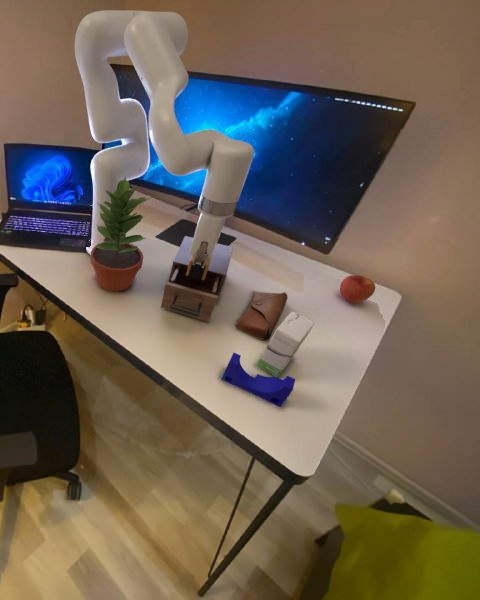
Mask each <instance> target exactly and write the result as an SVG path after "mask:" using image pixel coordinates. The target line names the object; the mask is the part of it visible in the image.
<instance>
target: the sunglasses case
mask: <svg viewBox="0 0 480 600" xmlns="http://www.w3.org/2000/svg"><path fill="white" fill-rule="evenodd" d="M287 300H288V294H287V292H286V291H285V292H280V293H279V292H257V291H254V292H253V294H252V297H251V299H250V301H249V302H248V305H247V306H246V308H245V309H244V311H243V313H242V314H241V316H240V317H239V318H238V319H237V321H236V323H235V324H234V326H235V327H236V328H237V330H240V331H242V332H243V333H245V334H247V335H249V336H251V337H253V338H255V339H257V340H259V341H261V342H263V341H264V342H265V341H266V342H267V341H270V340H271V338H272V336H273V334H274V332H275V331H274V330H276V327H277V325H278V322H279V320H280V317H281V315H282V313H283V311H284V310H285V309H284V308H285V306H286V303H287Z"/></svg>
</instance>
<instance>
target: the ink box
mask: <svg viewBox="0 0 480 600" xmlns="http://www.w3.org/2000/svg"><path fill="white" fill-rule="evenodd" d="M315 324H316V322H315V321H313V320H310V319H309V318H307V317H305V316H303V315H301V314H299V313H297V312H296V311H291V312H290V313H289V314H288V315H287V316H286V318H285V319H284V320H283V321H282V322H281V323H280V325H278V327H277V328H276V329H275V331H274V332H273V334H272V335H271V337H270V339H269V341H268V344H267V345H266V347H265V349H264V351H263V353H262V355H261V356H260V358H259V360H258V362H257V364H256V366H257V368H260V369H261V370H263V371H264V372H266V373H268V374H270V375H271V376H272V377H278V378H279V376H280V375H281V373H282V372H283V371H284V370H285V368H286V367H287V365H288V364H289V362H290V361H291V360H292V358H293V357H294V356H295V355H296V353H297V351H298V350H299V349H300V347H301V345H302V344H303V343H304V341H305V340H306V338H307V336H308V335H309V333H311V330H312V329H313V327H314V326H315Z"/></svg>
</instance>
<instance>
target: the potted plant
mask: <svg viewBox="0 0 480 600" xmlns="http://www.w3.org/2000/svg"><path fill="white" fill-rule="evenodd" d="M130 184H131V183H130V182H129V180H128V181H127V180H126V176H125V178H124V180H122V181H120V182H119V183H118V185H117V189H116V191H115V190H114V193H113V194H112V193H111V192H109V191H107V190H106V191H105V192H106V193H107V194H108V195H109V196H110V197H111V203H109V202H107V201H104V202H103V203H104V204H106V205H107V206H108V207H110V210H109V209H107V208H106V207H105V206H104V205H102V204H98V203H97V202H96V203H97V204H98V205H99V206H100V208H101V210H102V211H103V212H104V213H105V214H102V213H101V212H100V214H101V216H100V217H101V219H102V220H103V221H104V224H105V226H106V227H104V226H98V225H97V227H98V228H97V230H98V231H99V232H100V233H101V234H102V235H103V236H104V237H105V239H104V242H103V243H100V244H97V245H96V246H95V247H94V248H93V249H92V251H91V255H90V264H91V266H92V267H93V270H94V274H95V279H96V282H97V284H98V285H99V286H100V287H101V288H102V289H104V290H106V291H110V292H121V291H126V290H127V289H129V288H130V287H131V286H132V284H133V282H134V279H135V278H136V276H137V274H138V272H139V271H140V270H141V268H142V267H143V264H144V263H143V262H144V254H143V252H142V251H141V249H140V248H139V247H138V246H137V245H135V244H132V243H136V242H140V241H143V240H146V237H143V235H141V234H133V235H128V236H127V233H128V232H129V231H131V230H132V229H133V228H134V227H136V226H137V225H138V224H139V223H141V221H142V219H143V218H145V217H146V216H143V215H142V214H138V212H135V213H133V214H131V213H132V212H133V211H134V210H136V208H137V207H138V206H139V205H141V204H142V203H144V202H146V201H148V200H150V199H151V198H150V197H149V198H147V197H144V196H140V197H139V198H131V197H133V195H134V193H135V192H136V191H137V188H136V187H133V188H132V189H130V187H131V185H130Z"/></svg>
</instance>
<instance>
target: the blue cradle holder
mask: <svg viewBox="0 0 480 600" xmlns="http://www.w3.org/2000/svg"><path fill="white" fill-rule="evenodd" d="M241 356H242V355H241V354H239V353H236V352H233V353H232V355H231V356H230V358H229V361H228V363H227V365H226V367H225V370H224V372H223V374H222V376H221V380H222V381H224V382H227V383H229V384H231V385H233V386H235V387H237V388H239V389H241V390H244V391H245V392H247V393H250V394H252V395H254V396H256V397H258V398H260V399H261V400H265V401H266V402H269V403H271V404H273V405H275V406H277V407H279V408H281V407H282V405H283V404H284V403H285V402H286V400H287V399H288V397H289V396H290V395H291V393H292V392H293V391H294V386H295V383H296V378H294V377H292V376H290V375H286V376H285V377H284V378H283V379H282V378H280V377H279V376H278V377H275V376H267V375H266V376H265V375H261V374H260V373H257V374H256V376H253V375H250V374H249V373H248V372H246V370H245V369H244V368H243V366H242V364H241Z"/></svg>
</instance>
